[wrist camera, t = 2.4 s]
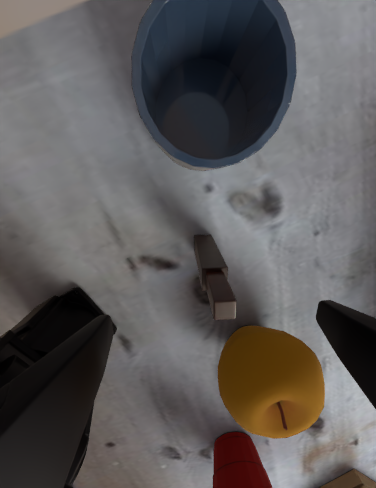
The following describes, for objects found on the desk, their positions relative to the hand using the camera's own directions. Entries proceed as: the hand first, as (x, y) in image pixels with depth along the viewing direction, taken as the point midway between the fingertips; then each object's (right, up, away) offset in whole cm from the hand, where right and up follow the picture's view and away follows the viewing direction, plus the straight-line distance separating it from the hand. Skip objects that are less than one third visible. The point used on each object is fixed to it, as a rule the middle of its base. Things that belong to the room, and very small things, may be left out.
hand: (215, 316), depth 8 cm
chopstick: (0, +3, +10) cm, 11 cm away
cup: (0, +13, +7) cm, 15 cm away
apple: (+6, -7, +14) cm, 17 cm away
